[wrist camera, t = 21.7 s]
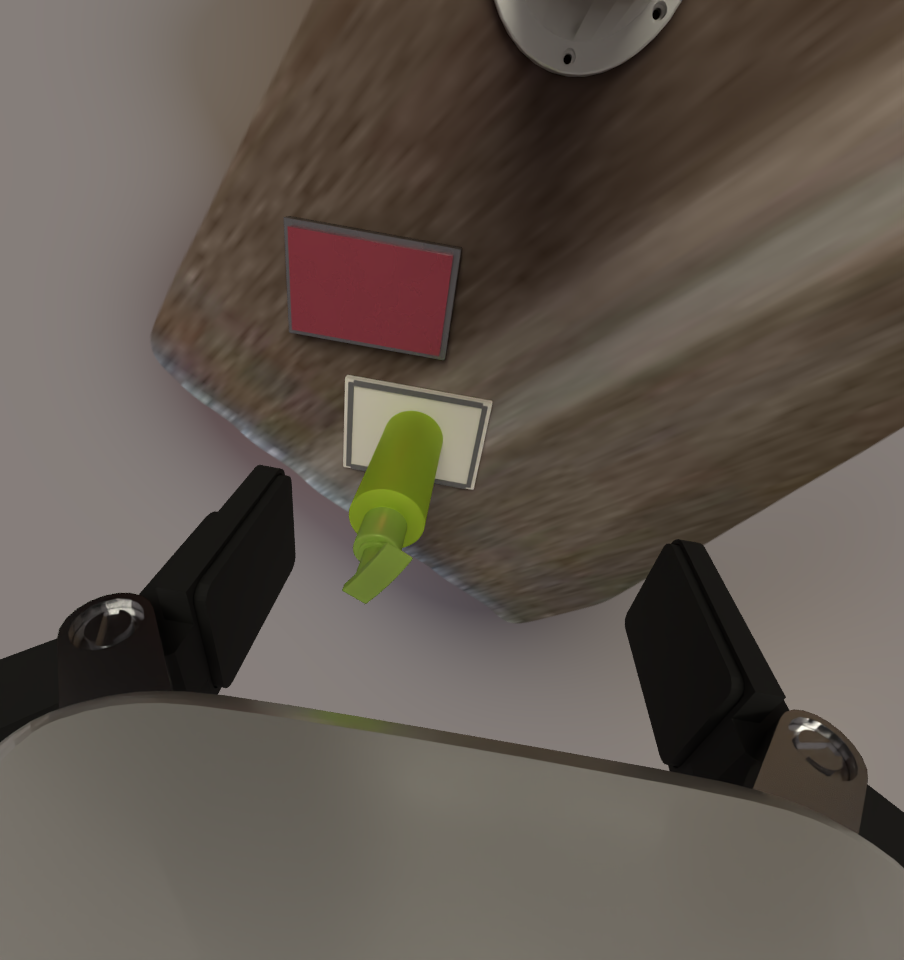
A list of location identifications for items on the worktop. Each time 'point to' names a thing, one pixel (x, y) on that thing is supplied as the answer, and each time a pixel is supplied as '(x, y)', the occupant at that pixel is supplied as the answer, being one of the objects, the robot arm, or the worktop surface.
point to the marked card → (453, 413)
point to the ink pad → (370, 287)
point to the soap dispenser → (393, 501)
